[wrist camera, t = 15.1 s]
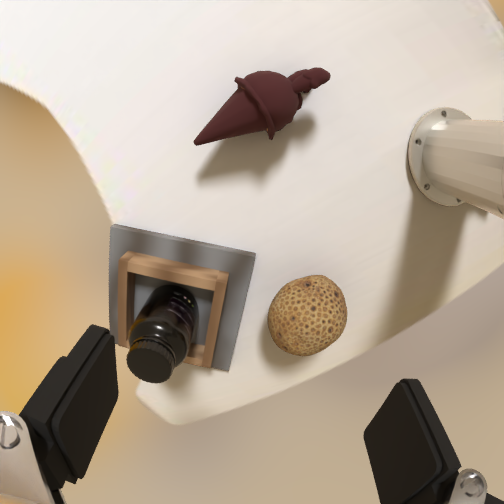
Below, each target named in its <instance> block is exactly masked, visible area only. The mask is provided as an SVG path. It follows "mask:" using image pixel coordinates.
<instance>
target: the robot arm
mask: <svg viewBox="0 0 504 504" xmlns="http://www.w3.org/2000/svg"><path fill="white" fill-rule="evenodd" d="M441 114H442V115H441ZM415 141H417V143H415ZM408 158H409V166H410V170H411V173H412V176H413V179H414V181H415V183H416V185H417V186H418V188H419V189H420V190H421V192H422V193H423V194H424V195H425V196H426V197H428V198H429V199H430V200H432V201H434V202H436V203H438V204H441V205H443V206H458V205H460V204H463V203H465V202H467V203H469V204H472V205H474V206H476V207H478V208H481V209H483V210H485V211H487V212H490V213H492V214H494V215H496V216H498V217H500V218H502V219H504V121H493V120H472V119H471V118H470V117H469V116H468V115H466V114H465V113H463V112H462V111H460V110H457V109H455V108H449V107H444V108H437V109H433V110H431V111H429V112H427V113H426V114H425V115H424V116H422V117H421V118H420V120H419V121H418V122H417V124H416V125H415V127H414V129H413V131H412V134H411V137H410V141H409V149H408ZM424 185H425V187H424ZM117 399H118V382H117V371H116V357H115V338H114V336H113V335H111V334H110V331H109V330H108V329H106V328H103V327H99V326H96V325H93V324H92V325H91V326H89V328H88V329H87V330H86V332H85V333H84V334H83V336H82V337H81V338H80V339H79V341H78V342H77V343H76V345H75V346H74V348H73V349H72V350H71V352H70V353H69V355H68V356H67V357H65V356H62V357H60V358H59V359H58V361H57V362H56V363H55V364H54V366H53V367H52V369H51V370H50V371H49V373H48V374H47V375H46V377H45V378H44V380H43V381H42V382H41V384H40V385H39V386H38V388H37V389H36V391H35V392H34V394H33V395H32V397H31V398H30V399H29V401H28V402H27V404H26V405H25V407H24V408H23V410H22V411H21V413H20V414H19V416H18V415H16V414H15V413H12V412H8V411H1V412H0V504H67V503H66V501H65V499H64V496H63V494H62V491H61V488H63V485H64V483H65V481H68V482H71V483H73V484H76V481H77V479H78V478H80V479H82V478H83V477H84V475H85V473H86V471H87V468H88V466H89V463H90V461H91V458H92V456H93V454H94V452H95V449H96V447H97V445H98V442H99V440H100V437H101V435H102V433H103V431H104V428H105V426H106V424H107V422H108V419H109V417H110V415H111V413H112V411H113V408H114V406H115V404H116V402H117ZM364 441H365V445H366V449H367V452H368V456H369V459H370V464H371V467H372V471H373V475H374V479H375V483H376V487H377V490H378V495H379V499H380V503H381V504H504V501H502V500H500V499H498V498H496V497H494V496H492V495H490V494H488V493H487V483H486V480H485V478H484V477H483V475H482V474H481V473H480V472H478V471H476V470H474V469H465V470H463V471H461V472H460V473H459V472H458V469H459V468H460V467H461V464H460V462H459V459H458V457H457V455H456V453H455V451H454V449H453V446H452V444H451V442H450V440H449V438H448V436H447V434H446V432H445V430H444V428H443V426H442V424H441V422H440V420H439V418H438V416H437V414H436V412H435V410H434V408H433V406H432V404H431V402H430V400H429V398H428V396H427V394H426V392H425V390H424V389H423V387H422V385H421V383H420V381H419V380H418V379H402V380H400V382H399V383H396V385H395V386H394V388H393V389H392V391H391V392H390V394H389V395H388V397H387V399H386V400H385V402H384V403H383V405H382V406H381V408H380V409H379V411H378V412H377V413H376V415H375V416H374V418H373V419H372V421H371V422H370V424H369V425H368V426H367V428H366V429H365V431H364Z"/></svg>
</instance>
